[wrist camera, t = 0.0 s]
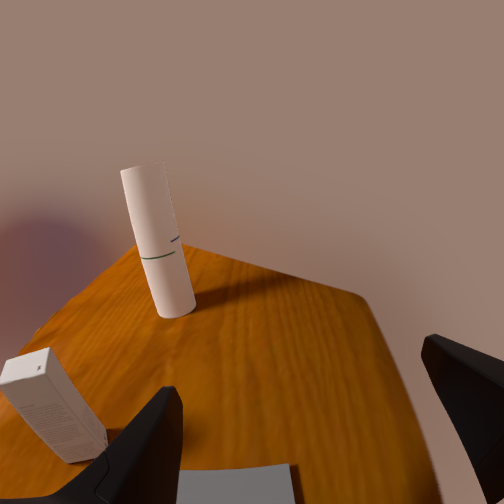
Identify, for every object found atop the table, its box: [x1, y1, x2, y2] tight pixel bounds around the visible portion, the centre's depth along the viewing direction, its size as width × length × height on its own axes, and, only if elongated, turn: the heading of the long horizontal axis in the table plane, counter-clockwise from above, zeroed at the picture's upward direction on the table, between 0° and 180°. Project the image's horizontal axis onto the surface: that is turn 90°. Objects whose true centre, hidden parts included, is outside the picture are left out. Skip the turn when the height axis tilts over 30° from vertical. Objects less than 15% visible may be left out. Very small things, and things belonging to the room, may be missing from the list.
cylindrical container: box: [120, 160, 196, 318], centre depth 44 cm, size 7×7×25 cm
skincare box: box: [0, 347, 108, 464], centre depth 18 cm, size 6×4×12 cm
